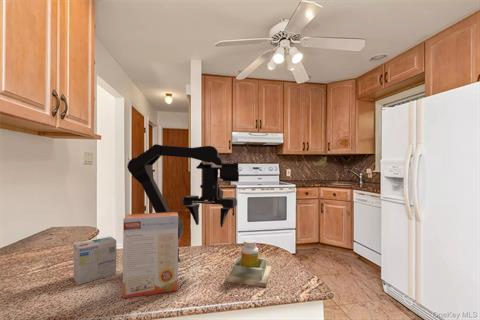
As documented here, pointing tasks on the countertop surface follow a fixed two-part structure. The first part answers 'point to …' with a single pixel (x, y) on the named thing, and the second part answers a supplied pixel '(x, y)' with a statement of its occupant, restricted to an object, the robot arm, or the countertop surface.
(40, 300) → the countertop surface
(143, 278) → the cracker box
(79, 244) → the light bulb box
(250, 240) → the supplement bottle
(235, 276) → the holder
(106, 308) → the countertop surface
